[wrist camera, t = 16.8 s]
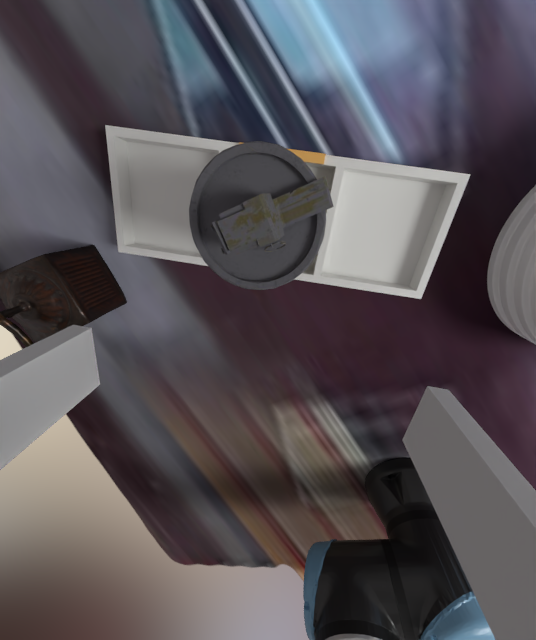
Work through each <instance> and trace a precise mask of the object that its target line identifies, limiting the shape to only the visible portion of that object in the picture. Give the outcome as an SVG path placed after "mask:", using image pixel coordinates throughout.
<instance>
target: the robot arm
mask: <svg viewBox="0 0 536 640" xmlns="http://www.w3.org/2000/svg"><path fill="white" fill-rule="evenodd" d="M99 385H100V381H99V375H98V368H97V362H96V355H95V348H94V342H93V335H92V328H89V327H83V326H77V325H72V326H69V327H67V328H65V329H63V330H61V331H59V332H57V333H55V334H53V335H51V336H49V337H47V338H45V339H43V340H41V341H39V342H37V343H35V344H33V345H31V346H28V347H26V348H24V349H22V350H20V351H18V352H16V353H14V354H12V355H10V356H8V357H6V358H4V359H2V360H0V470H1V469H2V468H3V467H4V466H5V465H7V464H8V463H9V462H10V461H11V460H12V459H14V458H15V457H16V456H17V455H18V454H19V453H21V452H22V451H23V450H24V449H25V448H26V447H28V446H29V445H30V444H31V443H32V442H33V441H35V440H36V439H37V438H38V437H39V436H40V435H42V434H43V433H44V432H45V431H46V430H47V429H48V428H50V427H51V426H52V425H53V424H54V423H56V422H57V421H58V420H59V419H60V418H61V417H63V416H64V415H65V414H66V413H67V412H68V411H70V410H71V409H72V408H73V407H74V406H75V405H77V404H78V403H79V402H80V401H81V400H82V399H84V398H85V397H86V396H87V395H88V394H89V393H91V392H92V391H93V390H94V389H95V388H96V387H98V386H99ZM403 442H404V445H405V447H406V449H407V451H408V453H409V455H410V457H411V459H407V458H403V459H394V460H390V461H386V462H384V463H381V464H379V465H378V466H376V467H375V468H373V469H372V470H371V471H370V472H369V474H368V475H367V477H366V480H365V487H366V491H367V495H368V498H369V501H370V503H371V504H372V506H373V507H374V509H375V511H376V513H377V515H378V516H379V518H380V520H381V521H382V523H383V525H384V527H385V529H386V532H387V535H388V539H375V540H341V541H337V540H336V539H332V540H330V541H325V542H317V543H314V544H313V545H312V547H311V548H310V550H309V552H308V555H307V559H306V565H305V573H304V601H305V603H304V619H305V626H306V632H307V635H308V638H309V639H310V640H536V491H535V489H534V488H533V487H532V486H531V485H530V484H529V482H528V481H527V480H526V479H525V478H524V477H523V476H522V474H521V473H520V472H519V471H518V470H517V469H516V467H515V466H514V465H513V464H512V463H511V462H510V460H509V459H508V458H507V457H506V456H505V455H504V454H503V452H502V451H501V450H500V449H499V448H498V447H497V445H496V444H495V443H494V442H493V441H492V440H491V439H490V437H489V436H488V435H487V434H486V433H485V432H484V430H483V429H482V428H481V427H480V426H479V425H478V423H477V422H476V421H475V420H474V419H473V418H472V417H471V415H470V414H469V413H468V412H467V411H466V410H465V408H464V407H463V406H462V405H461V404H460V403H459V401H458V400H457V399H456V398H455V397H454V396H453V395H452V393H451V392H450V391H449V390H447V389H441V388H435V387H429V386H427V388H426V390H425V393H424V395H423V397H422V399H421V401H420V403H419V405H418V408H417V410H416V412H415V414H414V416H413V418H412V421H411V423H410V425H409V427H408V429H407V431H406V434H405V436H404V438H403Z"/></svg>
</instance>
